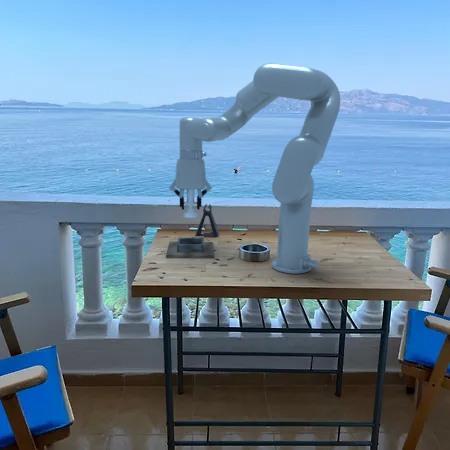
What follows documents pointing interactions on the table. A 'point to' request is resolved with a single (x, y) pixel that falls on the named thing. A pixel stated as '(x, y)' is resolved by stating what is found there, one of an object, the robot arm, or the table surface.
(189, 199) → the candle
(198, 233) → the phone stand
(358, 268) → the table surface
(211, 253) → the keeper board
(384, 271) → the table surface
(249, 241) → the table surface
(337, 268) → the table surface
